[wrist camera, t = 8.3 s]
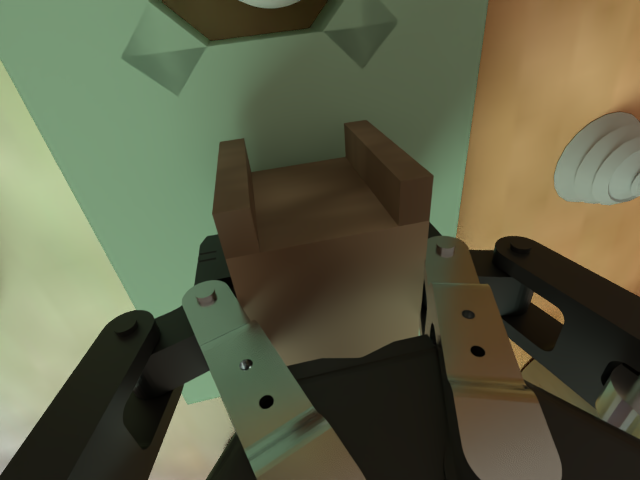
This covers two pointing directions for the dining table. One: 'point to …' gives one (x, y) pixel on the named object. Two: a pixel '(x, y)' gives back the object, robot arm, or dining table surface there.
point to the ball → (269, 3)
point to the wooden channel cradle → (327, 245)
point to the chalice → (602, 162)
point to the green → (230, 112)
